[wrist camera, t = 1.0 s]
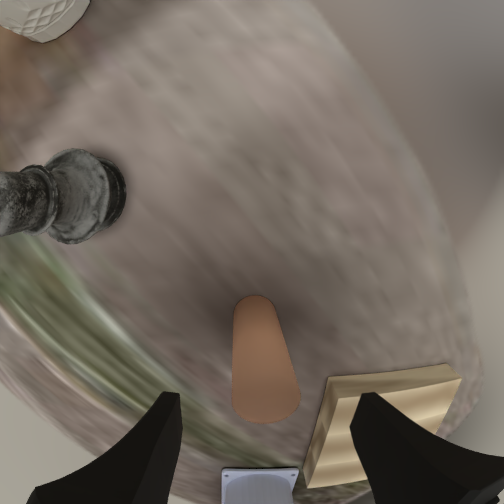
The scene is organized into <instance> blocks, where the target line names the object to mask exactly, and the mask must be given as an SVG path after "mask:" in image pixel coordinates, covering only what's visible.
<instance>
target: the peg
mask: <svg viewBox="0 0 504 504" xmlns="http://www.w3.org/2000/svg"><path fill="white" fill-rule="evenodd" d="M300 400H301V393H300V389H299V386H298V383H297V379H296V376H295V373H294V369H293V366H292V363H291V360H290V356H289V353H288V350H287V347H286V343H285V340H284V337H283V333H282V330H281V327H280V324H279V320H278V317H277V314H276V311H275V308H274V306H273V304H272V303H271V302H270V301H269V300H268V299H267V298H265V297H262V296H258V295H252V296H248V297H245V298H243V299H242V300H241V301H239V302H238V304H237V305H236V307H235V309H234V317H233V359H232V406H233V408H234V410H235V412H236V413H237V414H238V415H239V416H240V417H242V418H243V419H245V420H247V421H249V422H253V423H258V424H269V423H274V422H278V421H281V420H283V419H285V418H287V417H288V416H290V415H291V414H292V413H293V412H294V411H295V410H296V409H297V407H298V406H299V403H300Z"/></svg>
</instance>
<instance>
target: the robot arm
mask: <svg viewBox="0 0 504 504" xmlns="http://www.w3.org/2000/svg"><path fill="white" fill-rule="evenodd" d="M349 428H350V432H351V436H352V440H353V444H354V447H355V450H356V452H357V455H358V457H359V460H360V462H361V464H362V467H363V469H364V471H365V474H366V476H367V479H368V481H369V483H370V486H371V489H372V492H373V495H374V499H375V503H376V504H497V503H498V502H499V501H500V499H499V498H498V496H497V495H498V494H499V493H500V492H501V491H502V490H503V489H504V457H500V456H493V455H487V454H482V453H479V452H475V451H472V450H469V449H465V448H463V447H460V446H458V445H455V444H453V443H450V442H448V441H446V440H444V439H442V438H440V437H438V436H436V435H434V434H433V433H431V432H429V431H428V430H426V429H425V428H423V427H421V426H420V425H418V424H417V423H415V422H414V421H413V420H411V419H410V418H408V417H407V416H406V415H404V414H403V413H402V412H400V411H399V410H398V409H397V408H395V407H394V406H393V405H391V404H390V403H389V402H388V401H386V400H385V399H384V398H382V397H381V396H380V395H378V394H377V393H376V392H369V393H362V394H361V397H360V400H359V402H358V405H357V408H356V411H355V413H354V416H353V419H352V421H351V424H350V426H349ZM182 429H183V427H182V417H181V406H180V395H179V393H173V392H165V391H164V392H162V393H161V394H160V396H159V397H158V399H157V400H156V401H155V403H154V404H153V405H152V406H151V408H150V409H149V410H148V411H147V413H146V414H145V415H144V416H143V417H142V418H141V419H140V421H139V422H138V423H137V424H136V425H135V426H134V427H133V428H132V429H131V430H130V431H129V432H128V433H127V434H126V435H125V436H124V437H123V438H122V439H121V440H120V441H119V442H118V443H116V444H115V445H114V446H113V447H112V448H110V449H109V450H108V451H107V452H105V453H104V454H103V455H101V456H100V457H98V458H97V459H95V460H94V461H92V462H91V463H89V464H88V465H86V466H84V467H82V468H81V469H79V470H77V471H75V472H73V473H71V474H69V475H67V476H65V477H63V478H60V479H58V480H55V481H52V482H50V483H47V484H44V485H41V486H38V487H35V489H34V491H33V492H32V493H31V495H30V497H29V499H28V501H27V503H26V504H167V502H168V496H169V491H170V487H171V483H172V479H173V475H174V472H175V468H176V464H177V460H178V456H179V452H180V446H181V438H182ZM298 473H299V470H298V468H281V469H223V470H222V504H294V502H293V497H292V490H293V488H294V485H295V482H296V479H297V476H298Z"/></svg>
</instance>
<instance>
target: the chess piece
mask: <svg viewBox="0 0 504 504" xmlns="http://www.w3.org/2000/svg"><path fill="white" fill-rule="evenodd" d="M125 200H126V185H125V181H124V178H123V176H122V174H121V172H120V170H119V169H118V168H117V167H116V166H115V165H114V164H113V163H112V162H110V161H108V160H106V159H103V158H96V157H95V156H94V155H93V154H91V153H89V152H87V151H85V150H82V149H74V148H72V149H67V150H63V151H61V152H59V153H58V154H56V155H54V156H53V157H52V158H51V159H50V160H49V161H48V162H47V163H46V164H45V166H44V167H43V166H41V165H30V166H27V167H25V168H24V169H22V170H21V171H20V172H0V237H3V236H6V235H10V234H14V233H17V232H21V231H22V232H23V233H25V234H28V235H31V236H33V235H39V234H41V233H44V232H45V231H46V232H47V233H48V234H49V235H50V237H52V238H54V239H55V240H57V241H58V242H61V243H65V244H78V243H81V242H83V241H85V240H88V239H89V238H90V237H91V236H93V235H94V234H95V233H96V232H97V231H101V230H103V229H106V228H108V227H109V226H111V225H112V224H113V223H114V222H115V221H116V220H117V219H118V217H119V216H120V215H121V213H122V210H123V208H124V205H125Z"/></svg>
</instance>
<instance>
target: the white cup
mask: <svg viewBox="0 0 504 504" xmlns="http://www.w3.org/2000/svg"><path fill="white" fill-rule="evenodd" d="M89 3H90V0H0V26H2V27H4V28H7V29H9V30H11V31H13V32H15V33H17V34H20V35H23V36H25V37H27V38H29V39H31V40H32V41H36V42H40V43H44V42H47V41H50V40H53V39H56V38H58V37H59V36H61V35H62V34H63V33H65V32H66V31H68V30H69V29H71V27H72V26H73V25H74V24H75V23H76V22H77V21H78V20H79V19H80V18H81V17H82V16H83V14H84V12H85V10H86V9H87V7H88V5H89Z"/></svg>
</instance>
